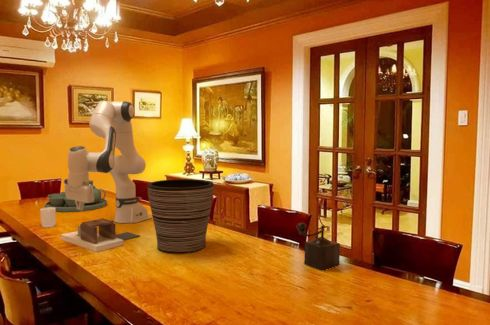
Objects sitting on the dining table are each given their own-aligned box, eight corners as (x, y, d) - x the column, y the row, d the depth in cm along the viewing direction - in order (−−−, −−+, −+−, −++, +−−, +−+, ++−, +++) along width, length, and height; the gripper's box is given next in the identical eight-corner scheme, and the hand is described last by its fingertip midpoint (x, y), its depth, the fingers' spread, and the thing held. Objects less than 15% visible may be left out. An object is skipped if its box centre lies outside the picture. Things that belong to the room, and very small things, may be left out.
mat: (127, 232, 216) (127, 232, 216) (140, 236, 209) (140, 235, 209) (108, 237, 207) (108, 236, 207) (121, 241, 200) (121, 240, 200)
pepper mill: (319, 258, 175) (320, 217, 173) (340, 265, 166) (341, 222, 165) (293, 266, 165) (294, 222, 164) (313, 274, 157) (314, 228, 155)
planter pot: (150, 259, 173) (149, 189, 170) (147, 240, 202) (146, 180, 199) (219, 253, 181) (219, 186, 178) (207, 236, 210) (207, 178, 207)
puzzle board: (87, 233, 214) (87, 229, 213) (123, 245, 193) (123, 239, 193) (61, 239, 203) (60, 234, 202) (96, 252, 183) (96, 246, 182)
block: (85, 238, 205) (85, 224, 205) (89, 239, 203) (89, 225, 202) (77, 239, 202) (77, 226, 202) (82, 241, 200) (81, 227, 199)
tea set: (45, 204, 295) (44, 181, 294) (103, 200, 312) (102, 178, 311) (44, 215, 259) (43, 189, 258) (110, 209, 276) (109, 185, 275)
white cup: (50, 228, 225) (49, 210, 224) (37, 227, 227) (36, 209, 226) (59, 224, 233) (58, 207, 232) (47, 224, 234) (46, 206, 233)
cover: (101, 234, 202) (101, 218, 201) (115, 238, 195) (115, 221, 194) (80, 238, 194) (80, 221, 193) (94, 243, 186) (94, 225, 185)
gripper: (97, 182, 189) (98, 211, 190) (74, 178, 201) (75, 205, 203) (84, 184, 184) (85, 214, 185) (61, 179, 197) (63, 208, 198)
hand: (80, 209), depth 194 cm, fingers closed
